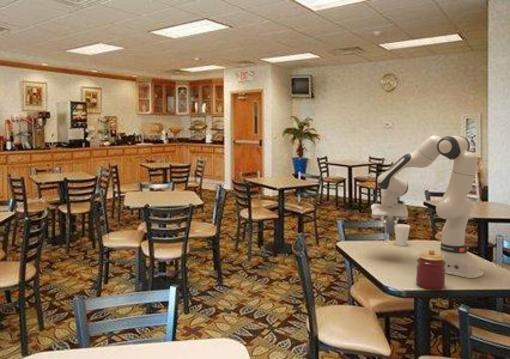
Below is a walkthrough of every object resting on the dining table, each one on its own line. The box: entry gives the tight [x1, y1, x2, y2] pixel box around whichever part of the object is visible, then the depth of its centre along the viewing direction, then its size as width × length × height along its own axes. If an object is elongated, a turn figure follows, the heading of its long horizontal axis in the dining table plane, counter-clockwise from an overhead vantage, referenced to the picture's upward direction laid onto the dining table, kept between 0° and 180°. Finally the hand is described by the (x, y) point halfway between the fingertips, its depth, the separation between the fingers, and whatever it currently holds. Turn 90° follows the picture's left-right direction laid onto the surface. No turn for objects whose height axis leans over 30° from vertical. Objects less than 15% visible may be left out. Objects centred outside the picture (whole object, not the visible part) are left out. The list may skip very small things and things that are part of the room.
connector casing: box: [385, 213, 395, 235], centre depth 248 cm, size 7×4×11 cm, turn 168°
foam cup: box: [394, 223, 411, 247], centre depth 285 cm, size 10×9×13 cm
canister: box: [415, 248, 446, 290], centre depth 208 cm, size 13×13×18 cm
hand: (390, 224), depth 247 cm, fingers closed on connector casing, 4 cm apart
